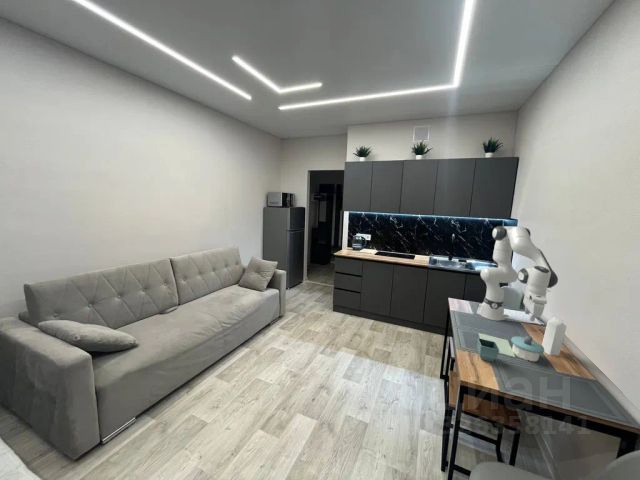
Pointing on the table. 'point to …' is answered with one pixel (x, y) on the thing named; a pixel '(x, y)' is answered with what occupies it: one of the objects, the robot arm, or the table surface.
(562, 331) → the milk
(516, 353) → the bowl
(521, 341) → the lid
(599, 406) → the table surface
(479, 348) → the flower pot
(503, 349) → the mat
